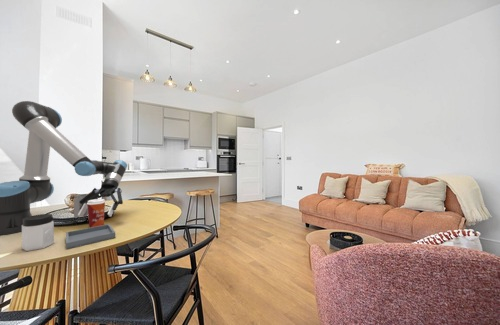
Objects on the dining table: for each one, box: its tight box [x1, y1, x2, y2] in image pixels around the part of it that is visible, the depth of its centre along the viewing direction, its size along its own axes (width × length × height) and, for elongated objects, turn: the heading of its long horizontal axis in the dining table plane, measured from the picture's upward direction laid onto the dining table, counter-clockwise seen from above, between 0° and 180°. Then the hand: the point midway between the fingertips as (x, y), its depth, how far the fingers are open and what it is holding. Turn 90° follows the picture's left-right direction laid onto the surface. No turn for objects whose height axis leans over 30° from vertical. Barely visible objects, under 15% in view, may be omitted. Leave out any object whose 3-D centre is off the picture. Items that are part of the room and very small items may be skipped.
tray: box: [65, 223, 116, 250], centre depth 86 cm, size 16×15×2 cm
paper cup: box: [87, 198, 107, 228], centre depth 99 cm, size 8×8×14 cm
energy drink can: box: [73, 193, 88, 218], centre depth 107 cm, size 6×6×15 cm
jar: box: [21, 213, 55, 252], centre depth 78 cm, size 9×8×12 cm
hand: (94, 215), depth 98 cm, fingers open, 13 cm apart
